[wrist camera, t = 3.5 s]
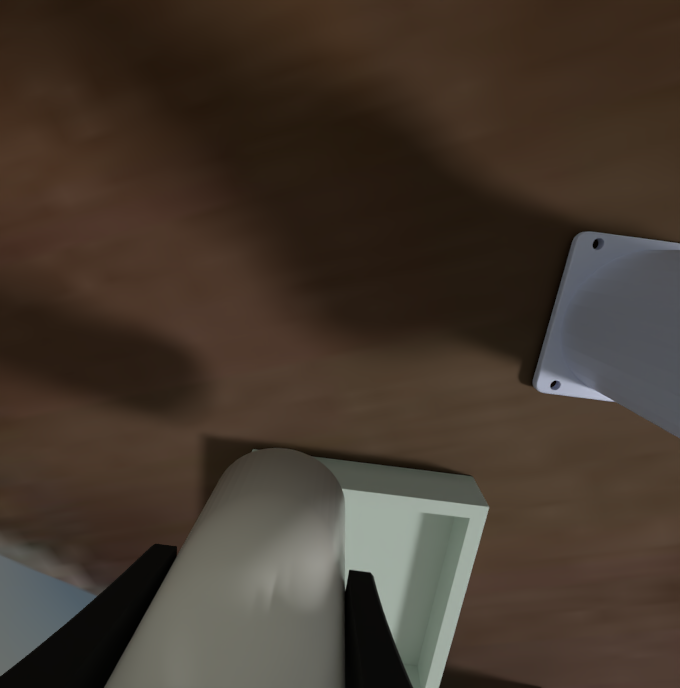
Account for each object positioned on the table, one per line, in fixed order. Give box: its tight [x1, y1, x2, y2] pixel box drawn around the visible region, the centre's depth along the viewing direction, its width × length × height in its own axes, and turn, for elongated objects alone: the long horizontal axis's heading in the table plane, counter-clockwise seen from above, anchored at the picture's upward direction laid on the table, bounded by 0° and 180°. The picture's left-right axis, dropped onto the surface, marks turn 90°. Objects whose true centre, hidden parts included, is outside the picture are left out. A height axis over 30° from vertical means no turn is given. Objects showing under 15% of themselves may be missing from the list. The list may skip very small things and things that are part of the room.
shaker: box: [104, 448, 345, 688], centre depth 9 cm, size 5×5×8 cm
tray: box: [252, 449, 489, 688], centre depth 21 cm, size 13×15×2 cm
